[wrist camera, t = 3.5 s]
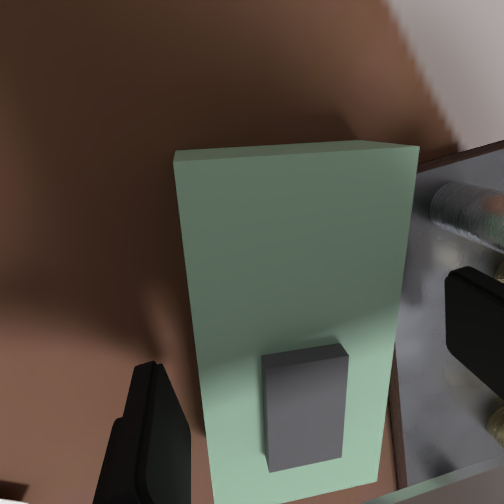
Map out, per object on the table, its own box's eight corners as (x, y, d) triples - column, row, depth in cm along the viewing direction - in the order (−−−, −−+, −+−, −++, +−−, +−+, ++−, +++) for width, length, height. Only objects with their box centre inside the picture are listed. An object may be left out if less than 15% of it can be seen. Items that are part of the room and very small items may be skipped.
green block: (175, 149, 11) (172, 165, 7) (354, 139, 12) (436, 147, 8) (208, 433, 15) (217, 537, 11) (337, 409, 16) (385, 497, 12)
